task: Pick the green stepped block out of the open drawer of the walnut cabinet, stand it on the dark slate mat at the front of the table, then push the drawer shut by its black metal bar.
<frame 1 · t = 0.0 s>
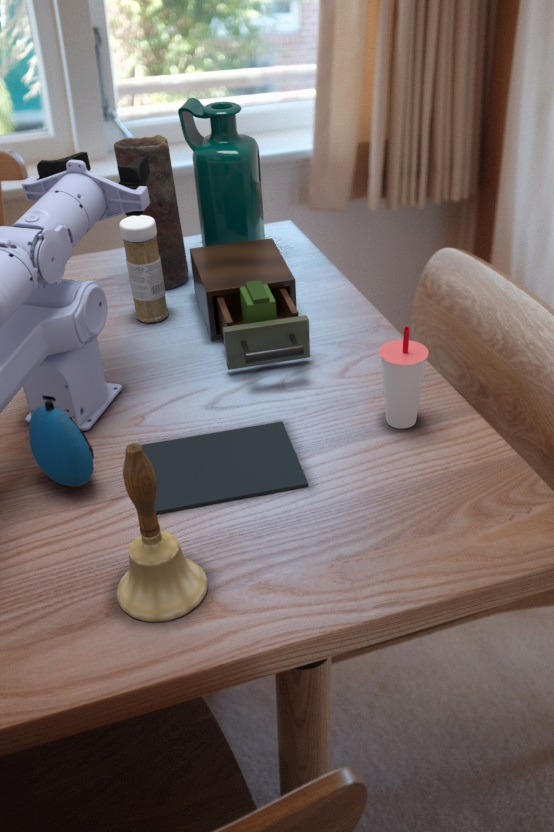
hand: (116, 162, 108), 22 cm above the table, tool horizontal, fingers open, 7 cm apart
hand bell: (163, 591, 83), on the table
green stepped block: (260, 336, 115), point 2 cm above the table, touching drawer
mat: (222, 466, 98), on the table
cabinet: (244, 312, 124), on the table
candle: (163, 280, 133), on the table
pitcher: (231, 256, 139), on the table
drawer: (261, 329, 113), point 4 cm above the table, slide at 8.0 cm, touching green stepped block
cup: (401, 421, 104), on the table
sprinkles bottle: (152, 317, 124), on the table
ornament: (70, 481, 96), on the table
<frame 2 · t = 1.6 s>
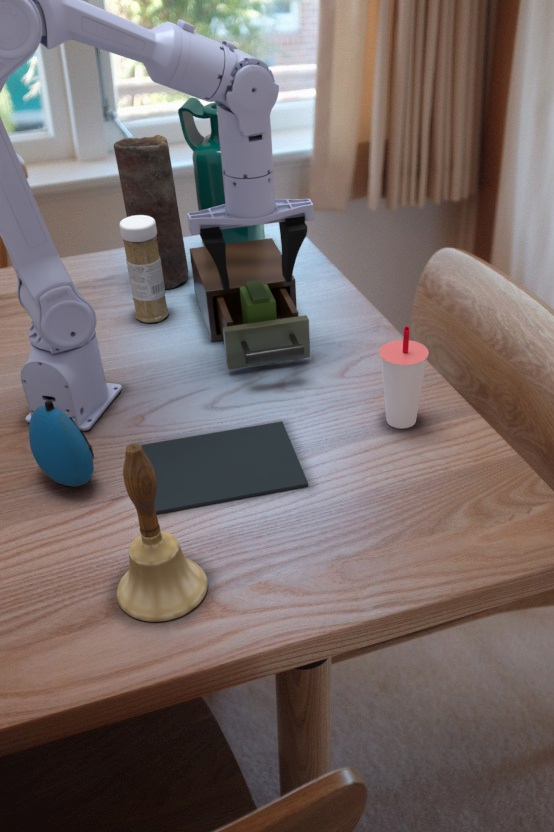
hand: (256, 282, 110), 9 cm above the table, tool pointing down, fingers open, 7 cm apart
nothing on the table moved.
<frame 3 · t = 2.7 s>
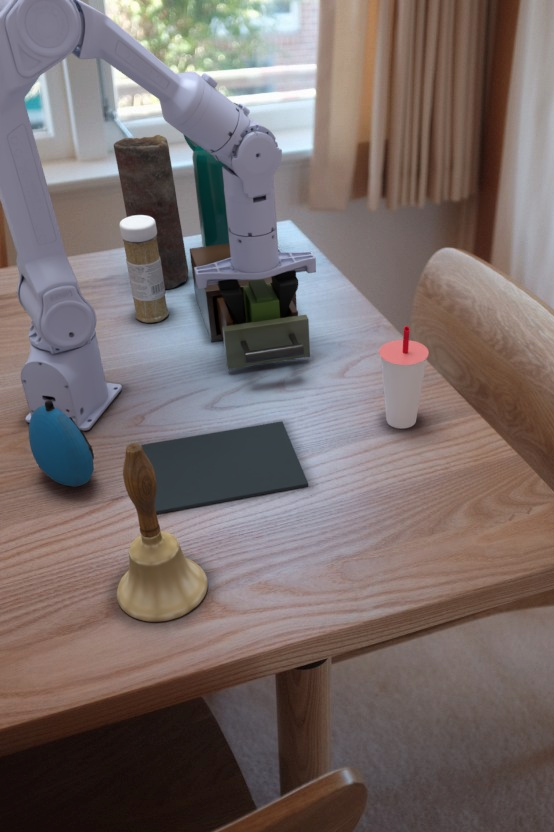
hand: (260, 330, 115), 3 cm above the table, tool pointing down, fingers open, 4 cm apart
green stepped block: (263, 335, 115), point 2 cm above the table, touching drawer, gripper
drawer: (260, 328, 114), point 4 cm above the table, slide at 7.8 cm, touching gripper, green stepped block
everything else where it was.
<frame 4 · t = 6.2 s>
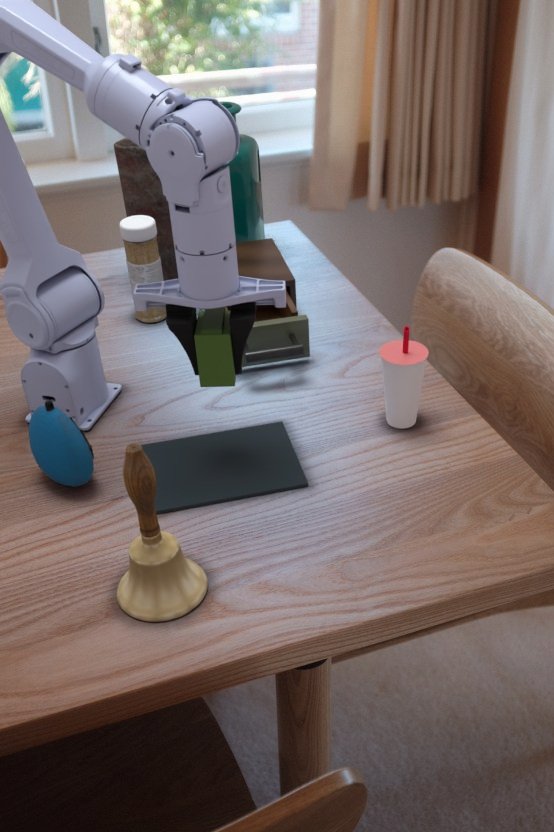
hand: (219, 369, 93), 10 cm above the table, tool pointing down, fingers closed on green stepped block, 3 cm apart
green stepped block: (219, 374, 94), point 10 cm above the table, touching gripper
drawer: (260, 328, 114), point 4 cm above the table, slide at 7.8 cm
everything else where it was.
when the fingers open (1 cm above the table, at t = 9.1 s): green stepped block stays where it is, resting on mat.
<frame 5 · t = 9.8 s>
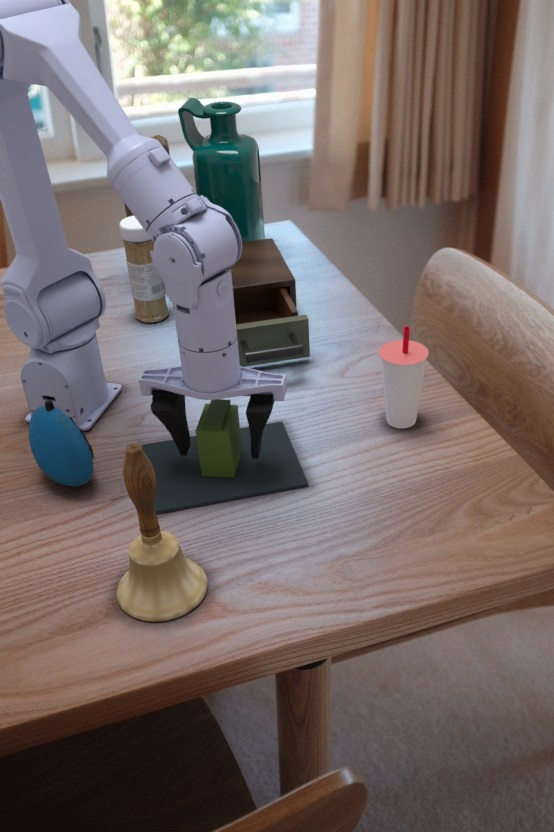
hand: (220, 451, 96), 2 cm above the table, tool pointing down, fingers open, 7 cm apart
green stepped block: (222, 463, 97), resting on mat
everything else where it was.
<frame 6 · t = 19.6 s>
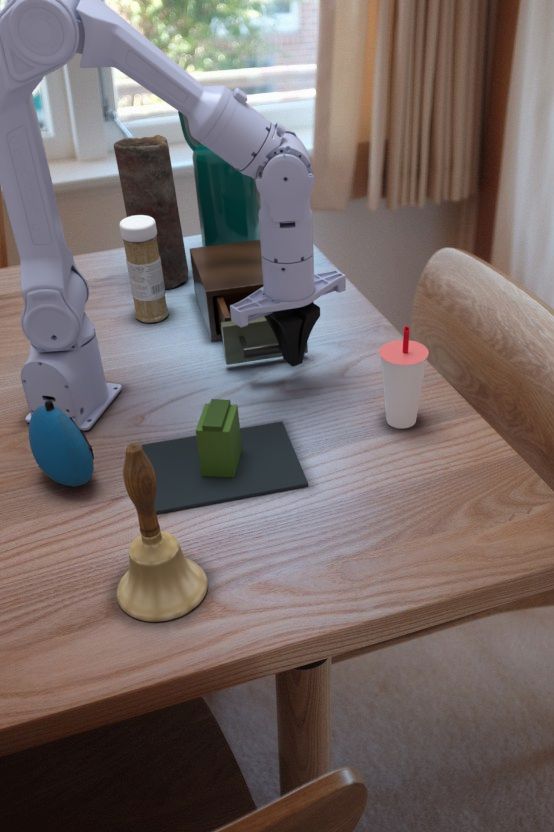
hand: (292, 361, 108), 3 cm above the table, tool pointing down, fingers closed
drawer: (259, 324, 114), point 4 cm above the table, slide at 6.8 cm, touching gripper
everything else where it was.
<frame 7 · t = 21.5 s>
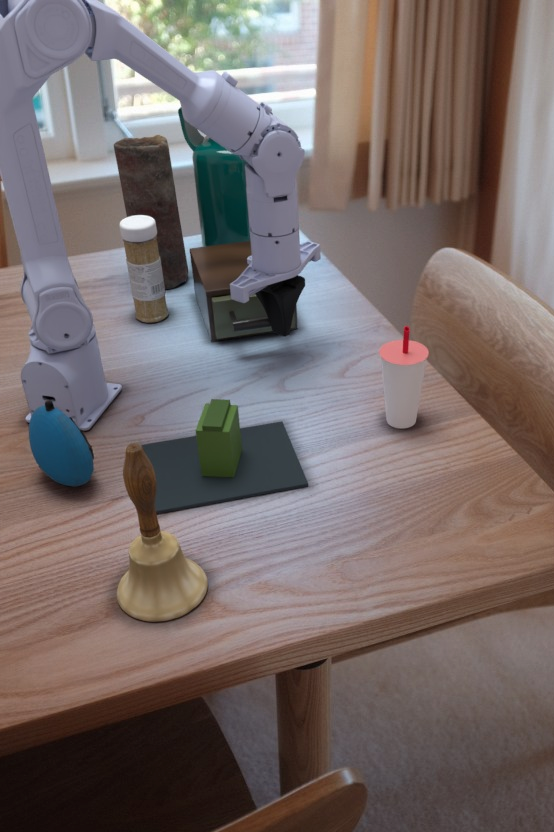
hand: (281, 333, 113), 3 cm above the table, tool pointing down, fingers closed, pressing on drawer
drawer: (248, 300, 119), point 4 cm above the table, slide at 0.0 cm, touching cabinet, gripper
everything else where it was.
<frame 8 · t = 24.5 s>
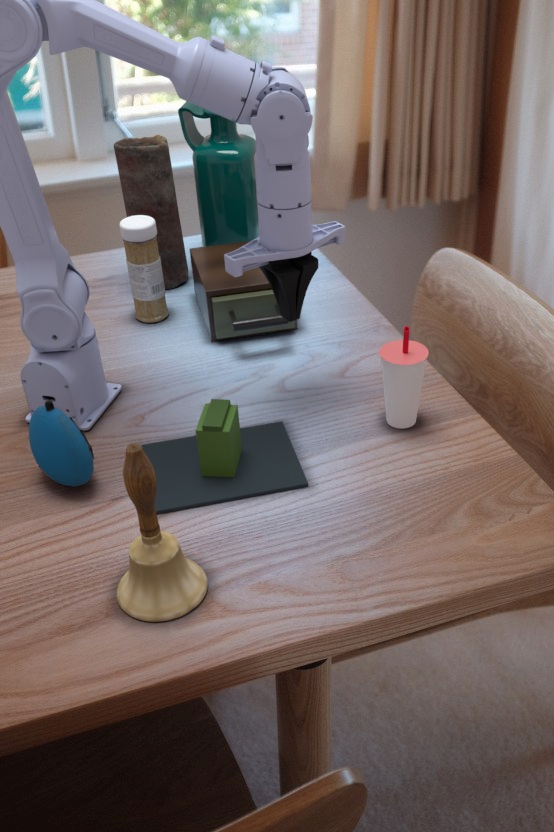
hand: (290, 317, 104), 9 cm above the table, tool pointing down, fingers closed
drawer: (248, 300, 119), point 4 cm above the table, slide at 0.0 cm, touching cabinet
everything else where it was.
at the end: green stepped block inside the target area on the mat (0.1 cm from its centre), point 0.4 cm above the mat's base; green stepped block tilted 0°; drawer slide at 0.0 cm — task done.
